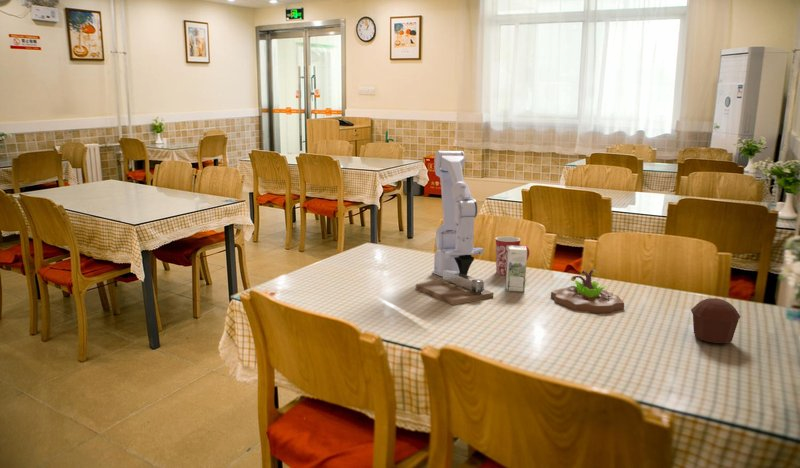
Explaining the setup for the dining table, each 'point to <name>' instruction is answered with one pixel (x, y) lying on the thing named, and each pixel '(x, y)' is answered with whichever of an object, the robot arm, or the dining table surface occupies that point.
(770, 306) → the dining table surface
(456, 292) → the label board
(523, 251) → the syrup box
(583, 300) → the plant
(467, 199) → the robot arm
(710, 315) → the muffin
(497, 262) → the mug
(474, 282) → the swing bar
